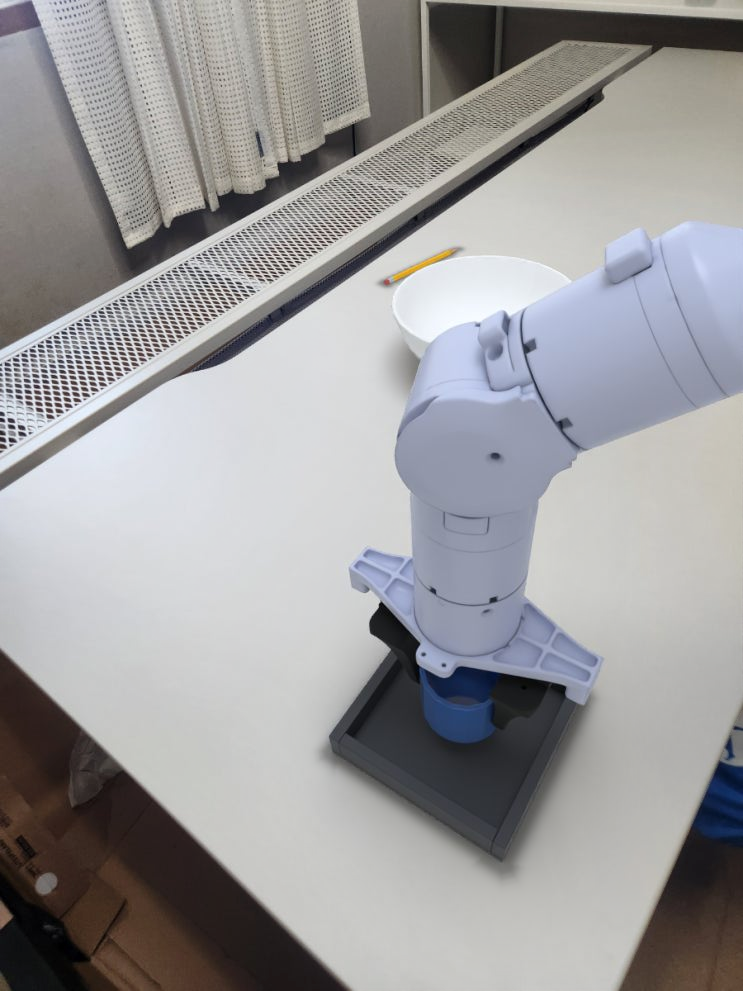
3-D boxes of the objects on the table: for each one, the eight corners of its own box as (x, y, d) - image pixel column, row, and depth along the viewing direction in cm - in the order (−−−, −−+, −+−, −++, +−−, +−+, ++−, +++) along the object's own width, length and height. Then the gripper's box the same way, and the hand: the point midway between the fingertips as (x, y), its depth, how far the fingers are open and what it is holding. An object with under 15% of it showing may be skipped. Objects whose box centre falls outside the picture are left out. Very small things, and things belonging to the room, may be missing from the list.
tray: (582, 696, 47) (588, 679, 45) (502, 862, 40) (505, 849, 38) (427, 617, 52) (427, 599, 51) (332, 751, 45) (328, 736, 44)
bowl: (358, 373, 76) (352, 307, 70) (468, 302, 84) (471, 238, 79) (498, 448, 65) (504, 378, 59) (606, 359, 74) (621, 291, 68)
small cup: (518, 691, 44) (524, 655, 41) (480, 759, 41) (484, 726, 38) (446, 653, 47) (447, 616, 43) (405, 715, 44) (403, 681, 41)
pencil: (383, 284, 89) (383, 279, 89) (455, 250, 95) (456, 245, 94) (387, 286, 89) (387, 282, 89) (459, 252, 94) (460, 247, 94)
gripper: (305, 554, 34) (334, 686, 44) (579, 692, 28) (542, 810, 38) (381, 470, 38) (392, 608, 48) (637, 576, 32) (590, 710, 42)
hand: (462, 692), depth 43 cm, fingers closed on small cup, 5 cm apart
